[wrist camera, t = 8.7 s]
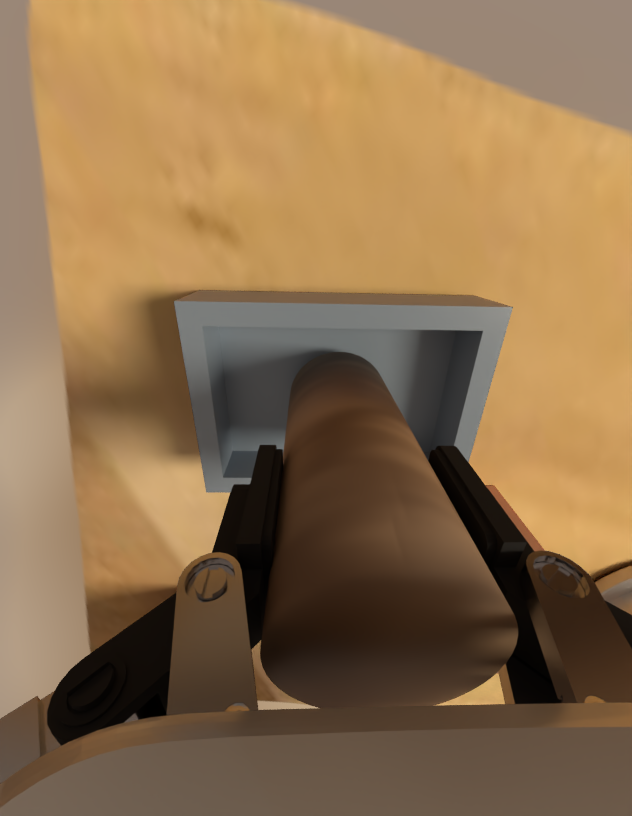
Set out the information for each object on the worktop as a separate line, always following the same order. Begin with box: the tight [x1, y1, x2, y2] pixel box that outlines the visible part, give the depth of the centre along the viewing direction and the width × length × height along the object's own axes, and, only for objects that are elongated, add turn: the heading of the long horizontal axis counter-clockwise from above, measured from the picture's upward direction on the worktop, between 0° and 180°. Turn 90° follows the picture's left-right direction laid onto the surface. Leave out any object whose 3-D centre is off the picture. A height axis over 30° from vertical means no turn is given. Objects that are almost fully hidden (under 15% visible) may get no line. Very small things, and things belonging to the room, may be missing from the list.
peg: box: [260, 352, 518, 708], centre depth 12 cm, size 5×5×12 cm
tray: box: [174, 290, 513, 492], centre depth 17 cm, size 14×10×4 cm
